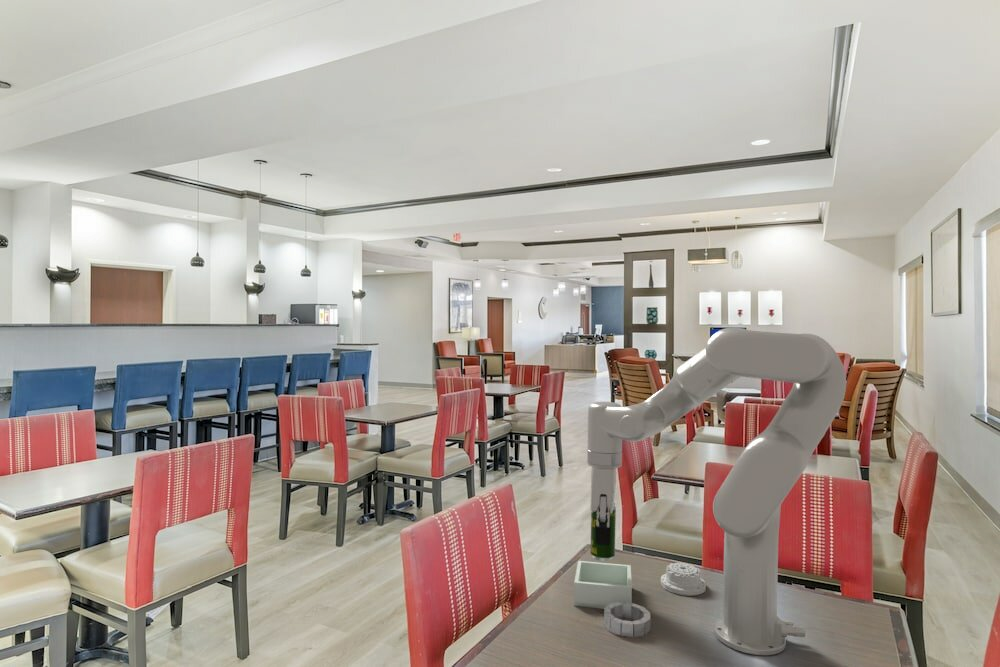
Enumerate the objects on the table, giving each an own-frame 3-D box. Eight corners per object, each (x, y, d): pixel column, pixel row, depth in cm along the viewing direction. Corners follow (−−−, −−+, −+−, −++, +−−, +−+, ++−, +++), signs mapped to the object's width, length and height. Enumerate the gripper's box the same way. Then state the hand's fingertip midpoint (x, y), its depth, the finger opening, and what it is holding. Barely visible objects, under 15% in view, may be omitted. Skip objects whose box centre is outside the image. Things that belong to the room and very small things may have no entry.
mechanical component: (662, 594, 131) (708, 599, 129) (662, 575, 131) (708, 579, 129) (659, 576, 141) (702, 579, 139) (659, 557, 141) (702, 561, 139)
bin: (630, 586, 134) (630, 565, 134) (631, 611, 123) (631, 587, 122) (578, 581, 137) (578, 560, 137) (574, 605, 125) (574, 582, 125)
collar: (649, 616, 120) (649, 604, 120) (651, 639, 112) (651, 626, 112) (604, 612, 122) (604, 600, 122) (603, 634, 113) (603, 621, 113)
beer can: (609, 551, 133) (610, 498, 133) (618, 560, 128) (619, 505, 127) (586, 552, 132) (587, 499, 132) (595, 562, 126) (596, 507, 126)
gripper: (589, 449, 138) (588, 525, 139) (585, 466, 122) (583, 552, 122) (621, 451, 137) (620, 528, 137) (621, 468, 120) (620, 556, 120)
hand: (603, 538), depth 130 cm, fingers closed on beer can, 5 cm apart
